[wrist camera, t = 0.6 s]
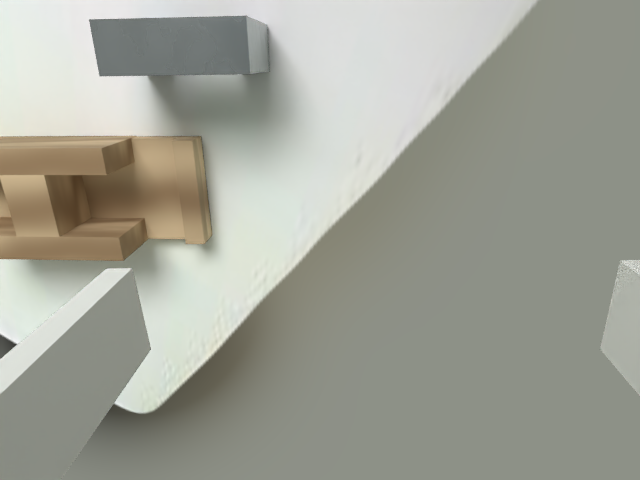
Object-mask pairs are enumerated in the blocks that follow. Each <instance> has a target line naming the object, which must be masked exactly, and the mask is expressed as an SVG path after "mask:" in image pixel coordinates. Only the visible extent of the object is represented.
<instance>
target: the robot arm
mask: <svg viewBox="0 0 640 480" xmlns="http://www.w3.org/2000/svg"><path fill="white" fill-rule="evenodd" d="M150 350H151V347H150V343H149V339H148V334H147V330H146V326H145V321H144V317H143V313H142V308H141V304H140V300H139V295H138V291H137V287H136V282H135V278H134V274H133V269H132V268H106V269H105V270H104V271H103V272H102V273H100V274H99V275H98V276H97V277H96V278H95V279H93V280H92V281H91V282H90V283H89V284H88V285H86V286H85V287H84V288H83V289H82V290H81V291H79V292H78V293H77V294H76V295H75V296H74V297H72V298H71V299H70V300H69V301H68V302H67V303H65V304H64V305H63V306H62V307H61V308H60V309H58V310H57V311H56V312H55V313H54V314H53V315H51V316H50V317H49V318H48V319H47V320H46V321H44V322H43V323H42V324H41V325H40V326H39V327H37V328H36V329H35V330H34V331H33V332H32V333H30V334H29V335H28V336H27V337H26V338H25V339H23V340H22V341H21V342H20V343H19V344H18V345H16V346H15V347H14V348H13V349H12V350H11V351H9V353H7V354H6V355H5V356H4V357H3V358H1V359H0V480H61V479H62V477H63V476H64V474H65V473H66V472H67V470H68V469H69V467H70V466H71V464H72V463H73V461H74V460H75V459H76V457H77V455H78V454H79V453H80V451H81V450H82V448H83V447H84V446H85V444H86V443H87V441H88V440H89V438H90V437H91V435H92V434H93V432H94V431H95V430H96V428H97V427H98V425H99V424H100V422H101V421H102V419H103V418H104V417H105V415H106V414H107V412H108V411H109V409H110V408H111V406H112V405H113V404H114V402H115V401H116V399H117V398H118V396H119V395H120V393H121V392H122V390H123V389H124V388H125V386H126V385H127V383H128V382H129V380H130V379H131V377H132V376H133V375H134V373H135V372H136V370H137V369H138V367H139V366H140V364H141V363H142V362H143V360H144V359H145V357H146V356H147V354H148V353H149V351H150ZM600 350H601V351H602V352H603V353H604V354H605V356H606V357H607V358H608V359H609V360H610V362H611V363H612V364H613V365H614V366H615V367H616V369H617V370H618V371H619V372H620V373H621V374H622V376H623V377H624V378H625V379H626V380H627V382H628V383H629V384H630V385H631V386H632V387H633V389H634V390H635V391H636V392H637V393H638V395H639V396H640V260H623V261H620V263H619V267H618V272H617V276H616V281H615V285H614V289H613V294H612V299H611V303H610V307H609V312H608V316H607V321H606V326H605V330H604V334H603V338H602V343H601V348H600Z"/></svg>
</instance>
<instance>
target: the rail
mask: <svg viewBox="0 0 640 480" xmlns="http://www.w3.org/2000/svg"><path fill="white" fill-rule="evenodd" d="M211 236H212V229H211V221H210V212H209V203H208V194H207V185H206V176H205V167H204V158H203V149H202V141H201V136H150V137H137V136H24V137H0V259H36V260H107V261H124V260H125V259H126V258H127V257H128V256H129V255H131V254H132V253H133V252H134V251H135V250H136V249H137V248H139V247H140V246H141V245H142V244H143V243H144V242H145V241H147V240H148V239H185V241H186V244H205V243H206V242H207V241H208V239H209V238H210V237H211Z"/></svg>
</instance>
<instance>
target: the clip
mask: <svg viewBox="0 0 640 480" xmlns="http://www.w3.org/2000/svg"><path fill="white" fill-rule="evenodd" d="M89 22H90V27H91V32H92V38H93V43H94V48H95V54H96V59H97V64H98V70H99V75H100V76H148V75H216V74H254V73H262V72H270V69H269V51H268V32H267V25H266V24H264V23H262V22H259V21H257V20H255V19H252V18H250V17H248V16H223V17H180V18H138V19H95V20H89Z"/></svg>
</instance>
